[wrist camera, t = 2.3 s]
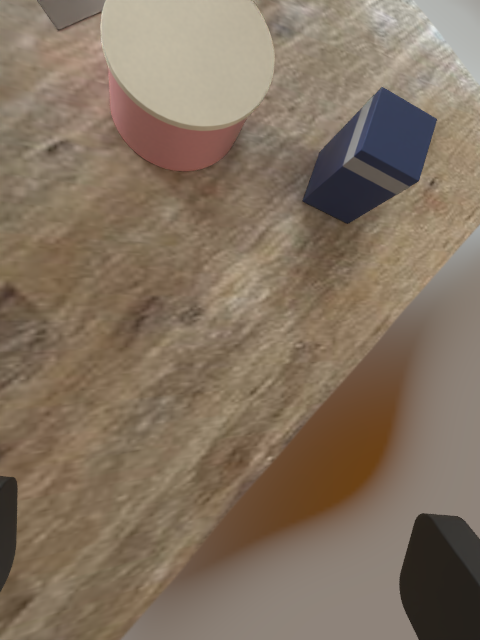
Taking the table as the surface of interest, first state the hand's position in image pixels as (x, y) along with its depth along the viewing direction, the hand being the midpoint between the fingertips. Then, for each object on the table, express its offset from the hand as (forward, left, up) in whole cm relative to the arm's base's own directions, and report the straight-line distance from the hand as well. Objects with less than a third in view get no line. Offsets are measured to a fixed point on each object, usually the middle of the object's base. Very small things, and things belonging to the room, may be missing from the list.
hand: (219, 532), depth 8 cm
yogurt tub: (-24, +9, -26) cm, 36 cm away
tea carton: (-15, +22, -26) cm, 37 cm away
